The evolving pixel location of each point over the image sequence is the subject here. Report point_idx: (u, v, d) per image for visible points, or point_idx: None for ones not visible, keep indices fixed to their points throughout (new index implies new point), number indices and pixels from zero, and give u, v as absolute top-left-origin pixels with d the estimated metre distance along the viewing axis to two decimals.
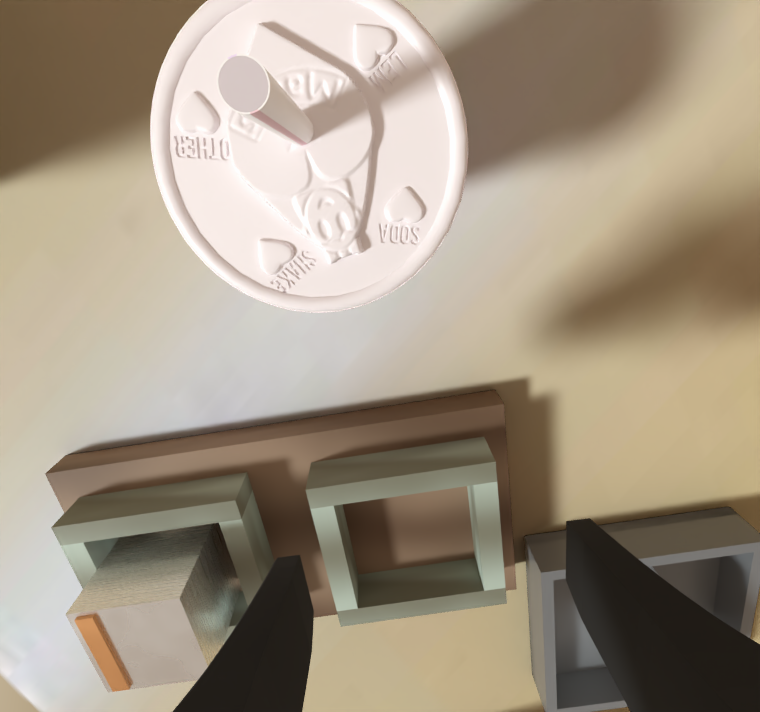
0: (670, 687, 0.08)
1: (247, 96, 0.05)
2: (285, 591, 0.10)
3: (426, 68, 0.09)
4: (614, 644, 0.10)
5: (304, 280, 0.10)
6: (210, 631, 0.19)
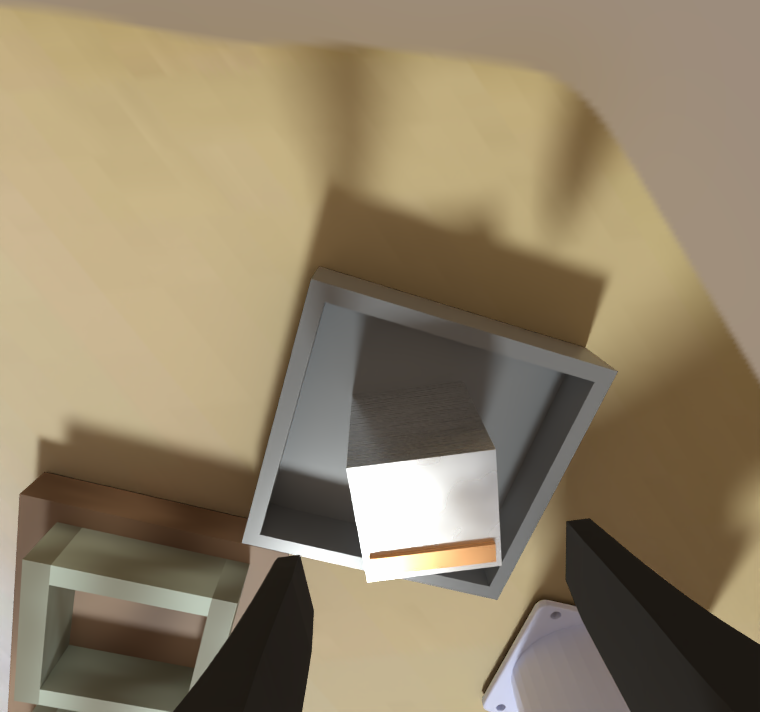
0: (670, 687, 0.08)
1: None
2: (285, 590, 0.10)
3: None
4: (614, 644, 0.10)
5: None
6: None
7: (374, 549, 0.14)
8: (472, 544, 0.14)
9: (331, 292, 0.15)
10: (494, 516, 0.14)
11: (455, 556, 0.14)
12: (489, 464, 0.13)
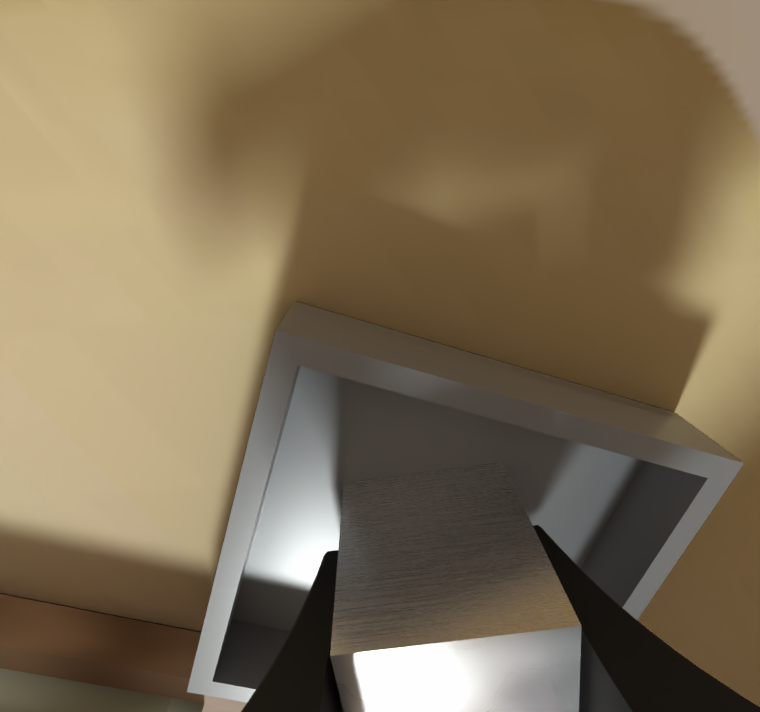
0: (595, 696, 0.08)
1: None
2: None
3: None
4: None
5: None
6: None
7: None
8: None
9: (308, 351, 0.09)
10: None
11: None
12: (568, 646, 0.08)
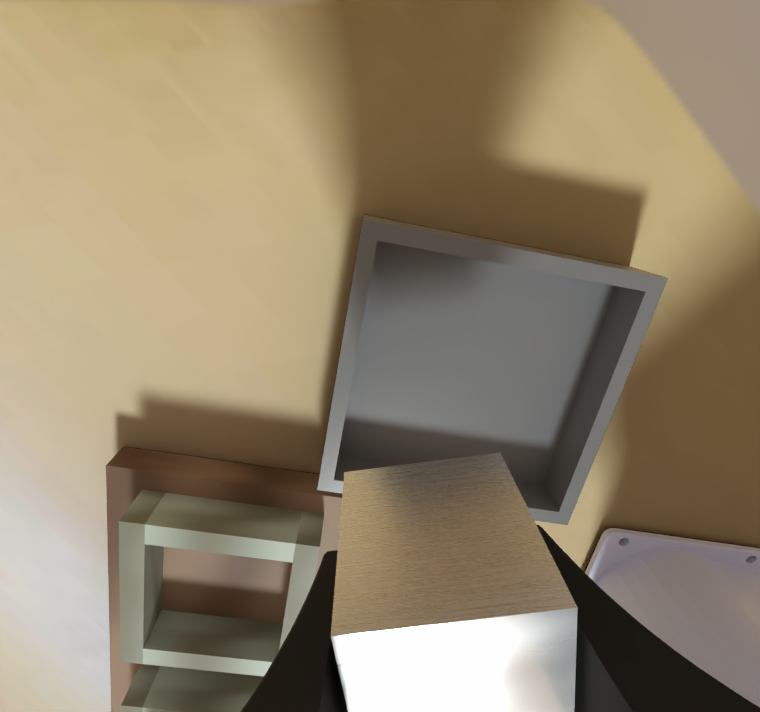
0: (595, 696, 0.08)
1: None
2: None
3: None
4: None
5: None
6: None
7: None
8: None
9: (383, 230, 0.15)
10: (567, 699, 0.09)
11: None
12: (565, 628, 0.08)
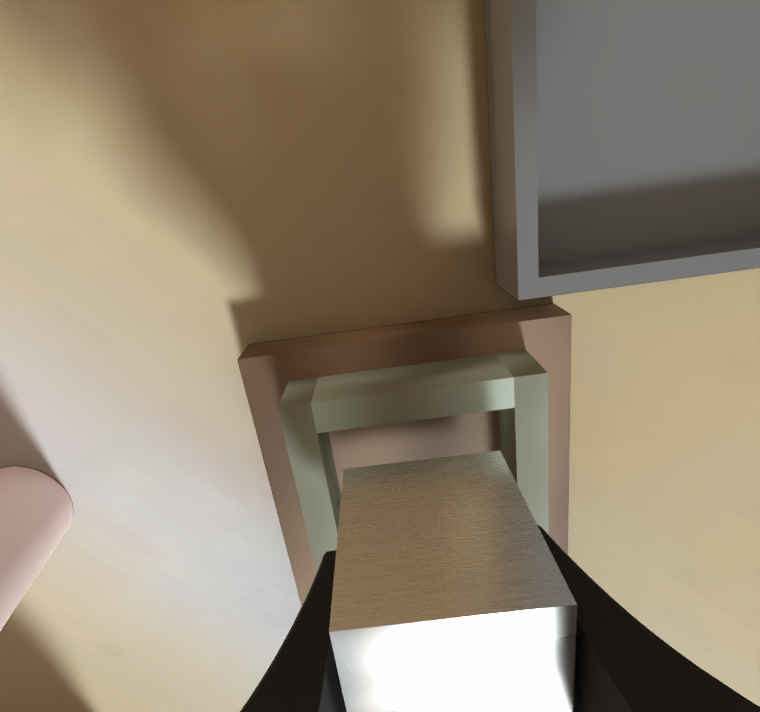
0: (596, 696, 0.08)
1: None
2: None
3: None
4: None
5: None
6: None
7: None
8: None
9: None
10: (565, 697, 0.09)
11: None
12: (564, 625, 0.08)
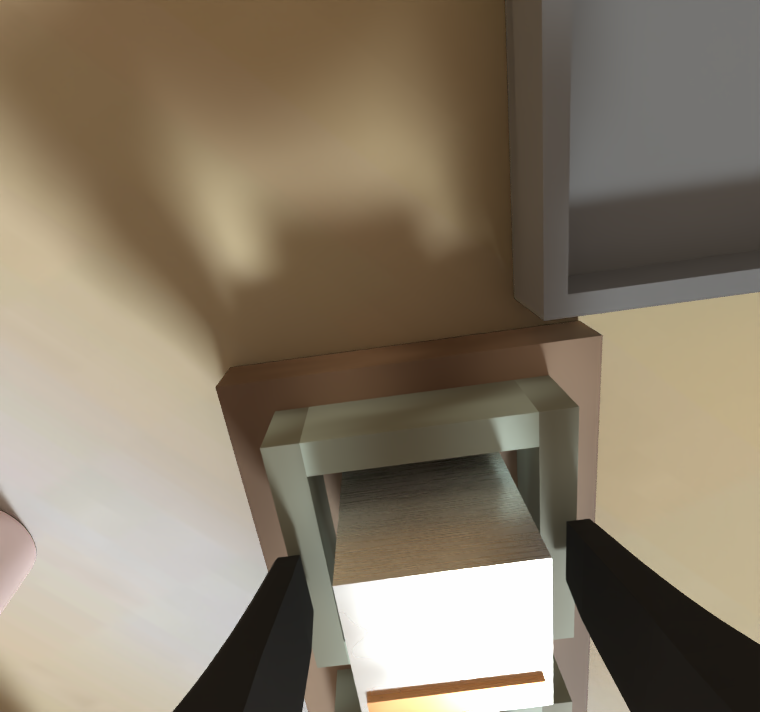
0: (670, 687, 0.08)
1: None
2: (285, 590, 0.10)
3: None
4: (614, 644, 0.10)
5: None
6: None
7: (374, 688, 0.10)
8: (513, 681, 0.10)
9: None
10: (545, 644, 0.10)
11: (489, 697, 0.10)
12: (541, 577, 0.09)
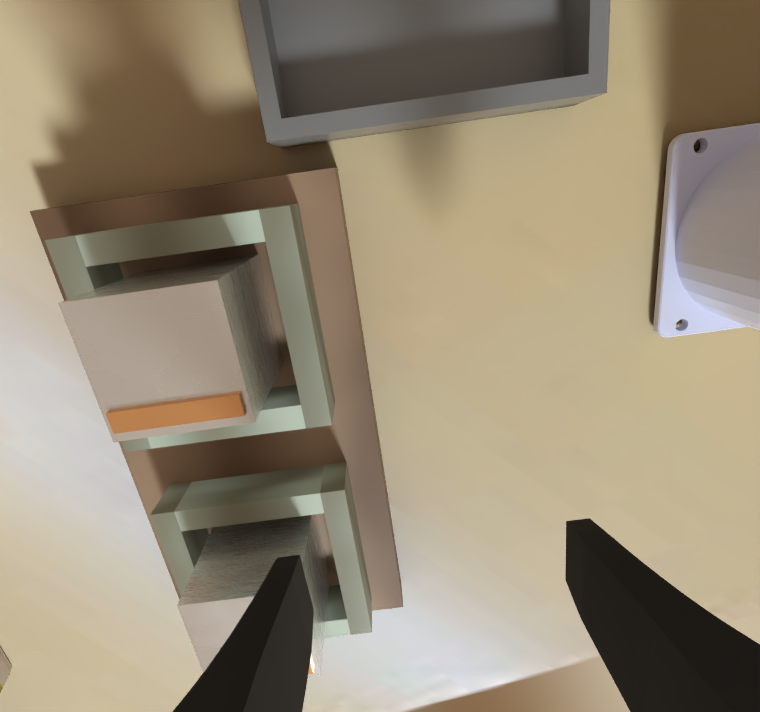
0: (670, 687, 0.08)
1: None
2: (285, 590, 0.10)
3: None
4: (614, 644, 0.10)
5: None
6: (265, 574, 0.17)
7: (111, 402, 0.13)
8: (216, 396, 0.13)
9: None
10: (233, 362, 0.13)
11: (198, 409, 0.13)
12: (214, 298, 0.12)
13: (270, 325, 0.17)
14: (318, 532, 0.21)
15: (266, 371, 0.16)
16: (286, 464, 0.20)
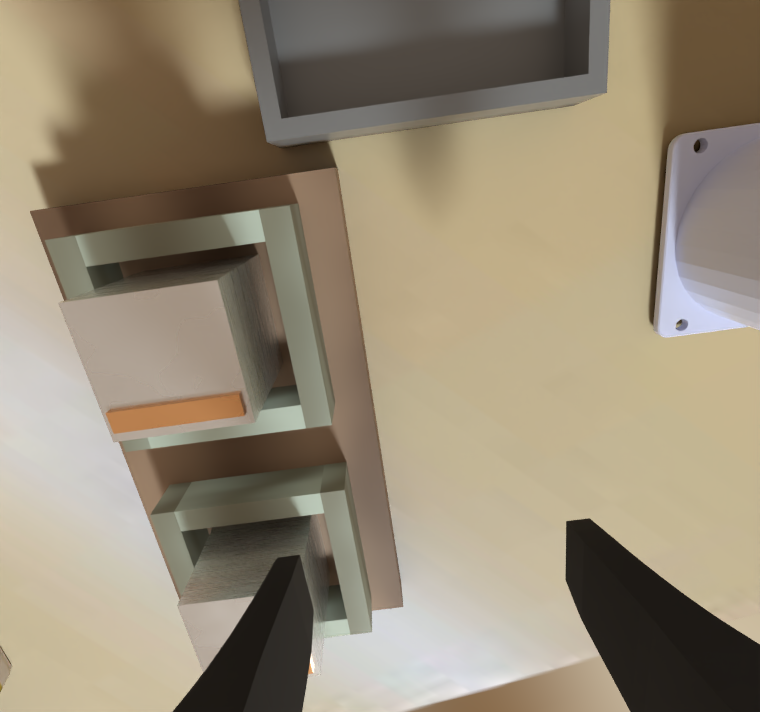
0: (670, 687, 0.08)
1: None
2: (285, 590, 0.10)
3: None
4: (614, 644, 0.10)
5: None
6: (265, 573, 0.17)
7: (111, 402, 0.13)
8: (216, 396, 0.13)
9: None
10: (233, 362, 0.13)
11: (198, 409, 0.13)
12: (214, 298, 0.12)
13: (270, 325, 0.17)
14: (318, 532, 0.21)
15: (266, 371, 0.16)
16: (286, 464, 0.20)
